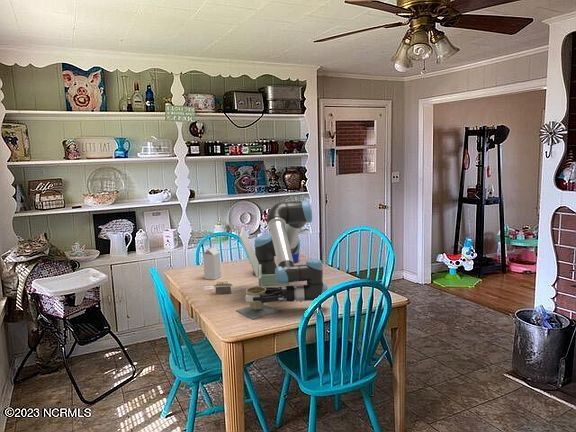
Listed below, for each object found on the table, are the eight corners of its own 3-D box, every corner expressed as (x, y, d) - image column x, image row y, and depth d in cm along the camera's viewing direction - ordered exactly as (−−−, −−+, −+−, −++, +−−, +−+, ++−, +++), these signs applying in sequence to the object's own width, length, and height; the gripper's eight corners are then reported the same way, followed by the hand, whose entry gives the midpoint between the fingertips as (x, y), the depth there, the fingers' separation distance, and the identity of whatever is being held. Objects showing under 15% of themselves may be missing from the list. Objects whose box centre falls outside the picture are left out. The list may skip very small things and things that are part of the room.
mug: (281, 260, 298) (280, 246, 296) (298, 259, 299) (298, 245, 297) (282, 264, 290) (281, 249, 288) (300, 263, 291) (299, 248, 289)
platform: (207, 291, 241) (207, 279, 240) (240, 289, 242) (240, 277, 241) (205, 298, 229) (204, 286, 228) (240, 296, 230) (239, 284, 229)
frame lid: (243, 226, 241) (242, 227, 241) (240, 236, 215) (239, 236, 215) (258, 262, 245) (257, 263, 245) (257, 276, 219) (256, 277, 219)
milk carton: (220, 276, 266) (219, 245, 263) (215, 280, 259) (213, 248, 256) (210, 275, 268) (208, 245, 265) (204, 279, 261) (202, 247, 258)
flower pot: (264, 311, 202) (263, 293, 200) (244, 310, 204) (243, 292, 202) (268, 304, 211) (268, 286, 210) (249, 303, 213) (249, 286, 211)
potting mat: (236, 311, 209) (236, 310, 209) (260, 304, 217) (260, 302, 217) (253, 319, 198) (253, 318, 198) (277, 311, 207) (277, 310, 207)
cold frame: (288, 283, 248) (288, 263, 246) (291, 300, 222) (291, 277, 220) (259, 285, 247) (259, 264, 245) (259, 301, 221) (258, 278, 219)
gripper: (296, 309, 197) (245, 311, 196) (293, 293, 218) (247, 295, 217) (295, 293, 196) (244, 295, 195) (292, 278, 217) (246, 280, 216)
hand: (246, 295), depth 206 cm, fingers closed on flower pot, 8 cm apart
